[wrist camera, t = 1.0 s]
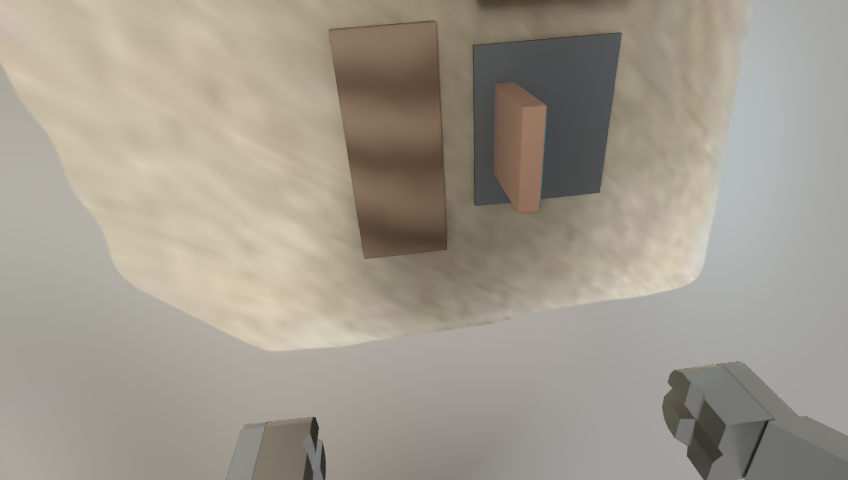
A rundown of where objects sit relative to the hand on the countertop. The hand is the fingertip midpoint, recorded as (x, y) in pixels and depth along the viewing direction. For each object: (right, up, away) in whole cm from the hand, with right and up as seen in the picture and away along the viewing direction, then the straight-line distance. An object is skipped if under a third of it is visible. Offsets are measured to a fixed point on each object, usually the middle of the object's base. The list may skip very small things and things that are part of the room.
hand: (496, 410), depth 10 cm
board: (-4, +12, +30) cm, 32 cm away
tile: (+5, +13, +29) cm, 33 cm away
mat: (+9, +14, +30) cm, 34 cm away
